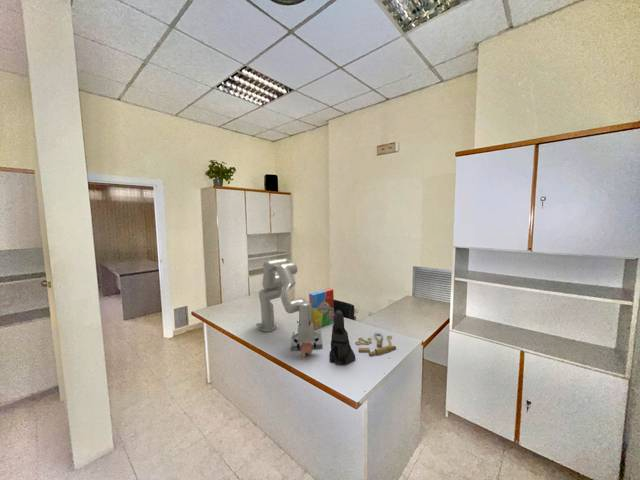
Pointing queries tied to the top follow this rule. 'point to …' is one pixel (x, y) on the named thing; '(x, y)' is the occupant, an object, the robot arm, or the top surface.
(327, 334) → the top surface
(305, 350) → the pink block
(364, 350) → the toy baking set
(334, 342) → the black tall figure
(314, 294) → the game box
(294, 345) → the socket
